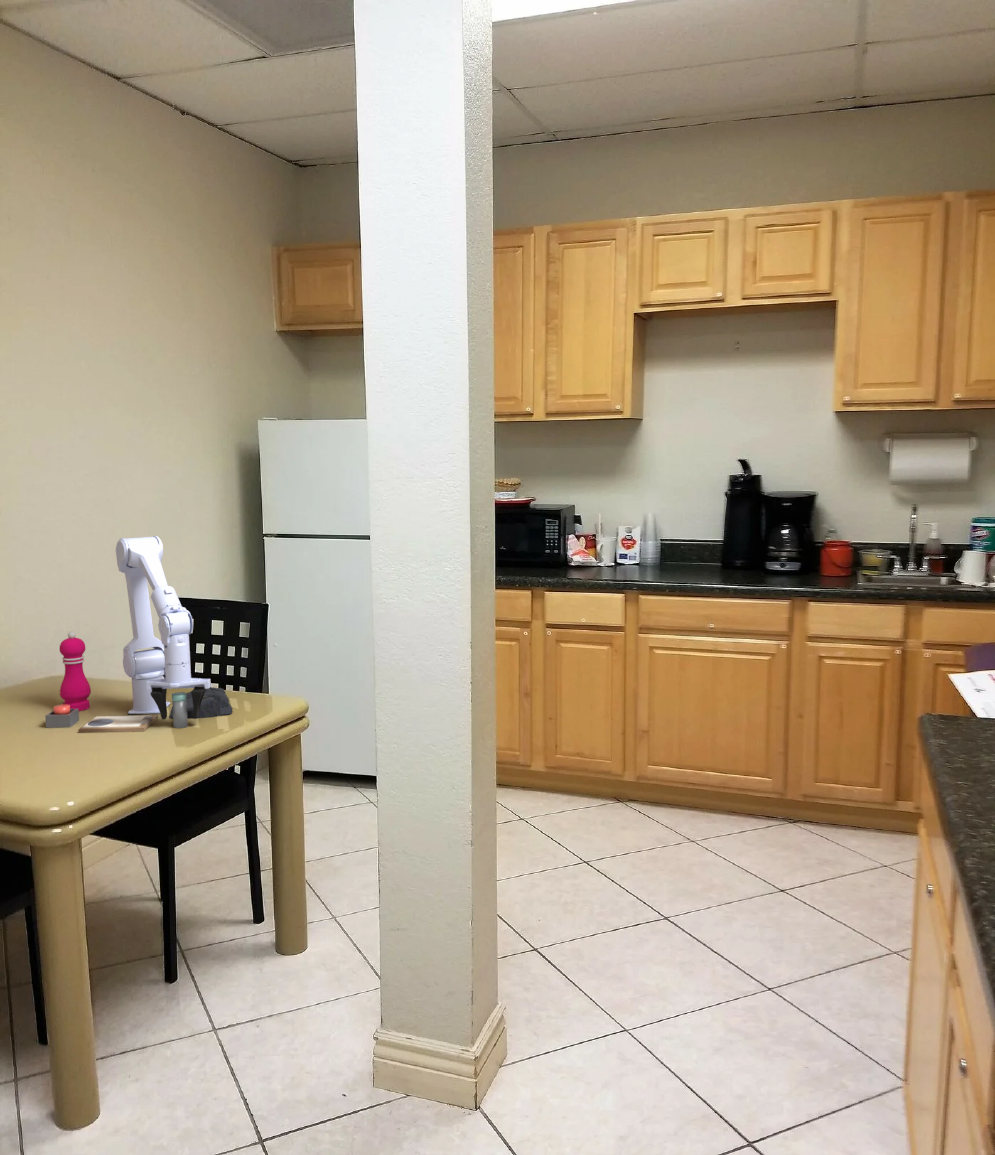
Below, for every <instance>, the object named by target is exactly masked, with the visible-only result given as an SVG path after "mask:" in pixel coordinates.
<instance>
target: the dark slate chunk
mask: <svg viewBox="0 0 995 1155" xmlns="http://www.w3.org/2000/svg"><path fill="white" fill-rule="evenodd" d="M186 695H187V719H188V720H190V719H194V717H193V699H192V694H191V691H189V692H186ZM171 708H172V709H171V710H170V714H169V716H168V719H169V718H171V719H170V720H173V705H172V707H171ZM233 711H234V710H233V707H232V705H231V704H230V700H229V697H228V696H227V693H226V691H225V689H224V688H223V687H222V688H221V687H212V686H211V687H210V688H209V689H206V692H205V694H204V696H203V699H202V702H201V706H200V710H199V717H198V718H197V719H207V718H215V717H222V716H229V715H231V714H232V715H233ZM197 719H196V720H197ZM194 720H195V719H194Z"/></svg>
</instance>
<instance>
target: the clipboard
mask: <svg viewBox="0 0 995 1155" xmlns="http://www.w3.org/2000/svg"><path fill="white" fill-rule="evenodd" d="M157 719H159V715H158V714H148V715H147V714H131V715H99V716H98V715H97V716H96V715H95V716H94V717H93V718H92V719H90V720H89V721H87V722H86V723H85V724H83V725H82V726H81V727H80V728H78V733H79V734H81V733H82V734H83V733H84V734H85V733H87V734H88V733H89V734H90V733H123V732H124V733H125V732H127V733H128V732H129V733H130V732H131V733H132V732H133V733H134V732H146V730H148V728H149V727H151V725H153V724H154V723H155V722H156V721H157Z"/></svg>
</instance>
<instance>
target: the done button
mask: <svg viewBox="0 0 995 1155" xmlns="http://www.w3.org/2000/svg"><path fill="white" fill-rule="evenodd" d="M52 709H53V710H54V715H68V714H69V713H70V705H67V704H63V703H62V704H57V705H54V706H53V708H52Z"/></svg>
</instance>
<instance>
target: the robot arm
mask: <svg viewBox="0 0 995 1155" xmlns="http://www.w3.org/2000/svg"><path fill="white" fill-rule="evenodd" d="M163 555H164V545H163V541H162V539H161V538H160V537H159V536H157V535H154V536H141V537H130V538H128V537H127V538H125V537H121V538H119V539H118V541H117V542H116V546H115V556H116V564H117V568H118V571H119V572H121V573H123V574H124V576H125V577H124V578H125V583H126V589H127V590H126V591H127V597H128V604H129V606H128V607H129V613H130V622H131V630H132V636H133V638H132V639H131V640H130V641H129V642H128V643H127V644H125V646H124V647H123V650H122V652H123V653H122V654H123V657H122V667H123V671H124V673H125V674H126V675H127V676H128V678H131V687H132V688H131V690H132V691H131V692H132V708H131V709H130V710H129V711H127V714H128V715H147V714H148V715H156V714H160V717H161V720H166V719H167V718H168V709H167V707H169V706H170V704H171V702H170V701H167V693H168V692H167V691H168V689H170V690H172V689H173V690H174V689H192V690H191V691H190V692H191V694H192V699H193V717H194V720H197V718H198V717H199V710H200V706H201V702H202V699H203V696H204V694H205V692H206V689H209V688H210V687H212V683H211V678H200V677H199V678H198V677H192V673H191V672H192V671H191V651H190V650H191V649H190V635H191V634H192V633H193V630H194V621H193V616H192V615H191V612H190V611H189V610H187V608H186V607H183V606H182V604H181V601H180V599H179V596H178V593H177V592H176V589H175V588H174V587H173V586H170V585H168V582H167V578H166V575H165V572H164V569H163V565H162V560H163ZM148 585H149V586H150V587H151V589H152V592H151V594H150V592H149V586H148ZM149 595H150V596H149ZM150 599H151V601H150ZM151 602H152V604H153V607H154V609H155V612H156V613H157V616H158V624H157V626H158V631H159V635H160V639H159V638H158V637H156V636H155V634H154V632H155V631H154V626H153V618H152V617H153V616H152V610H151ZM149 648H152V649H149ZM142 649H144V650H142ZM198 719H199V718H198Z"/></svg>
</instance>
